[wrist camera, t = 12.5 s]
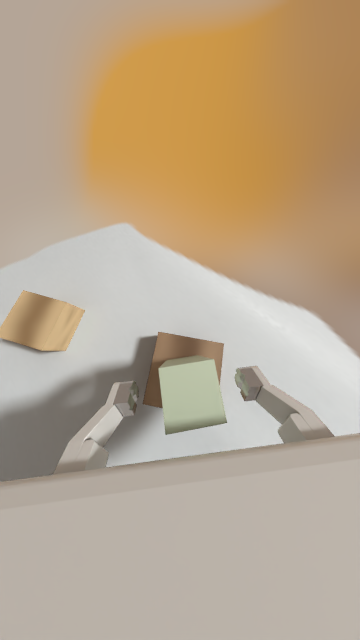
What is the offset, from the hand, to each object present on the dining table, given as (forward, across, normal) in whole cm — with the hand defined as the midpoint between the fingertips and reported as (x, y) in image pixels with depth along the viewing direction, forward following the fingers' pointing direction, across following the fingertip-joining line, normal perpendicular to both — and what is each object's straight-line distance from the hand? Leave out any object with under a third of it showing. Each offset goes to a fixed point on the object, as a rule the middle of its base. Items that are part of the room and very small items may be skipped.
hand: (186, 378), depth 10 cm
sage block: (+4, 0, +5) cm, 6 cm away
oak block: (+14, +20, +1) cm, 24 cm away
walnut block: (+7, 0, +8) cm, 11 cm away
